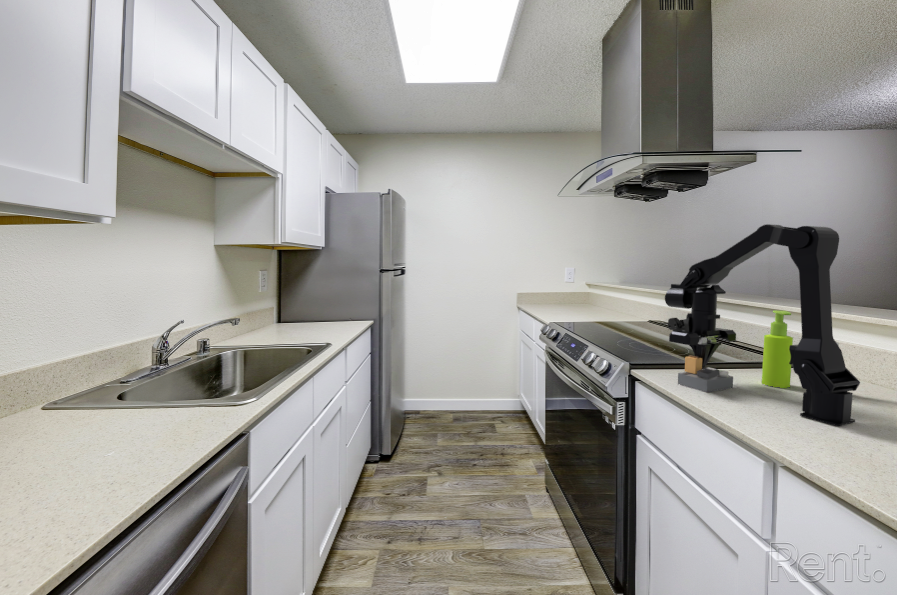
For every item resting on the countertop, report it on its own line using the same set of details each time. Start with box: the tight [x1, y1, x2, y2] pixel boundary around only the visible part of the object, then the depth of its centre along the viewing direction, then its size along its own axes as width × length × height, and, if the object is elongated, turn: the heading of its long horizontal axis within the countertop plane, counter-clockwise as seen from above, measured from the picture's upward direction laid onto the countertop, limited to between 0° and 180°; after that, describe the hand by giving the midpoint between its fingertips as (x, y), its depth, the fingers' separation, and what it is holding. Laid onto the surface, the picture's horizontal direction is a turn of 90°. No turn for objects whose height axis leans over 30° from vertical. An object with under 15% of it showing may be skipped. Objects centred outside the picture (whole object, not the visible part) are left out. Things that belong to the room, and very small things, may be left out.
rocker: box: [697, 366, 720, 379], centre depth 104 cm, size 3×4×2 cm
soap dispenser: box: [761, 310, 794, 389], centre depth 107 cm, size 6×7×20 cm
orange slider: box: [684, 354, 703, 374], centre depth 109 cm, size 3×2×4 cm
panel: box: [677, 369, 734, 393], centre depth 107 cm, size 8×10×4 cm
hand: (701, 367), depth 110 cm, fingers closed
